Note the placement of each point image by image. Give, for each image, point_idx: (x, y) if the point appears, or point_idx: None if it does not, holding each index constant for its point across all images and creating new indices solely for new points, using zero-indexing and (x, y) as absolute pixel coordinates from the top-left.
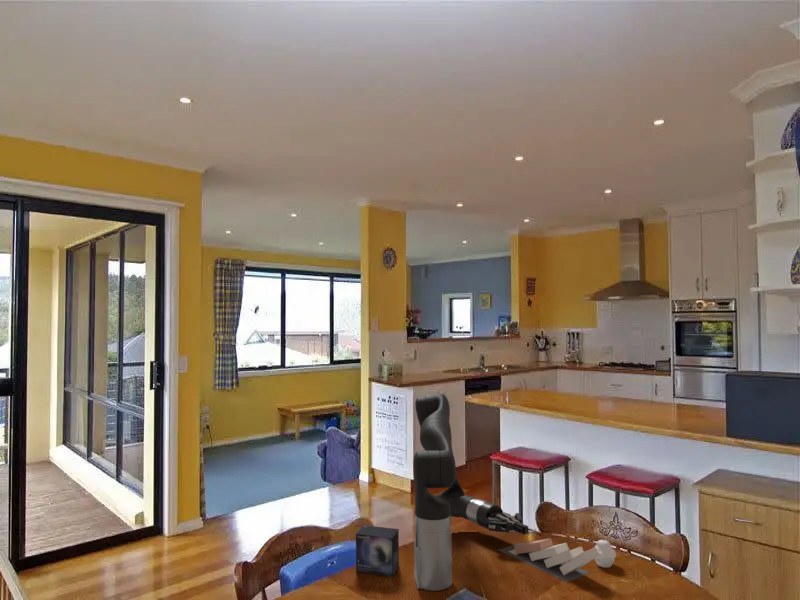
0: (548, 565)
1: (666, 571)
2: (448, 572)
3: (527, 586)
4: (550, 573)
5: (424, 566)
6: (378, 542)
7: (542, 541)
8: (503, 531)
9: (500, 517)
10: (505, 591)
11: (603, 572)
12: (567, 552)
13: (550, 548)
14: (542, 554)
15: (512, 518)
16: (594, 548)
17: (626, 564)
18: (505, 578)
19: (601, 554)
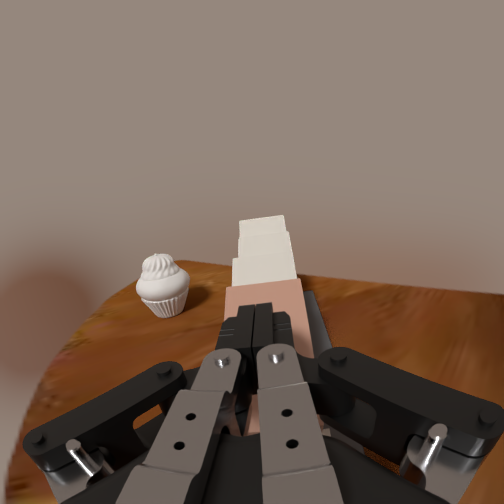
0: None
1: (133, 283)
2: None
3: (408, 300)
4: (318, 314)
5: None
6: None
7: (278, 281)
8: (371, 413)
9: (325, 454)
10: (462, 294)
11: (202, 301)
12: (289, 238)
13: (294, 264)
14: None
15: (211, 391)
16: (244, 221)
17: (136, 304)
18: (449, 328)
19: (186, 272)
